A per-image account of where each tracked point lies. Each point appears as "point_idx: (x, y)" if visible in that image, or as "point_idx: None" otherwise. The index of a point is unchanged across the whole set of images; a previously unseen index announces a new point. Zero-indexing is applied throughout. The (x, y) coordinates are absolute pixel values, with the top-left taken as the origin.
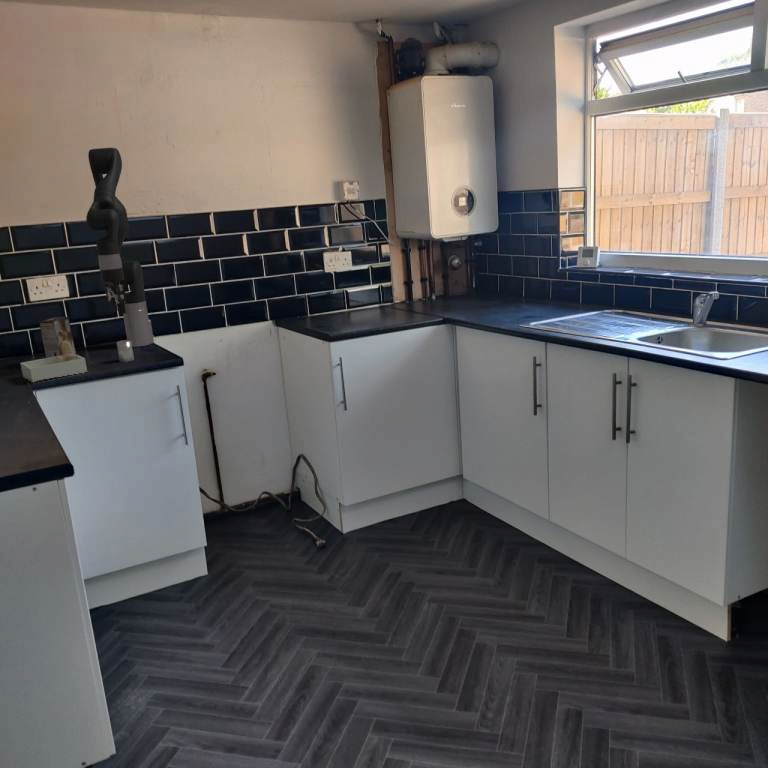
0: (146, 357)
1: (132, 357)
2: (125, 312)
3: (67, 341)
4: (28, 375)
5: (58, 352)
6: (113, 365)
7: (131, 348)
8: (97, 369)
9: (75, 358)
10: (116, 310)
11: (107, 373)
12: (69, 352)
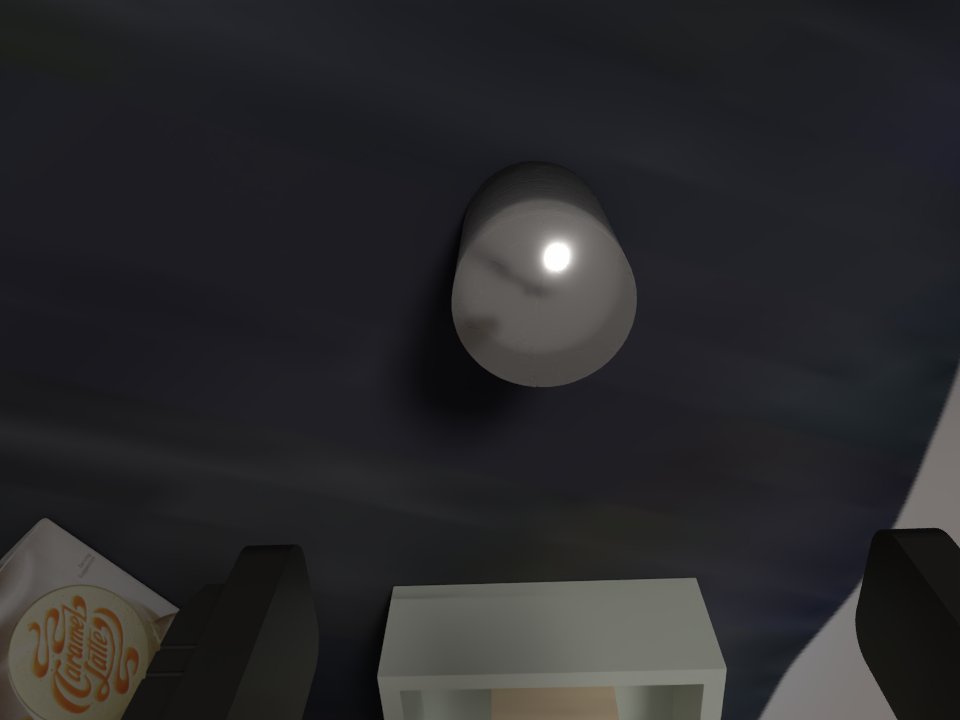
0: (590, 26)
1: (592, 194)
2: (938, 542)
3: (27, 700)
4: None
5: None
6: (642, 384)
7: (598, 212)
8: (664, 507)
9: (614, 700)
10: (297, 579)
11: (893, 492)
12: (85, 614)
